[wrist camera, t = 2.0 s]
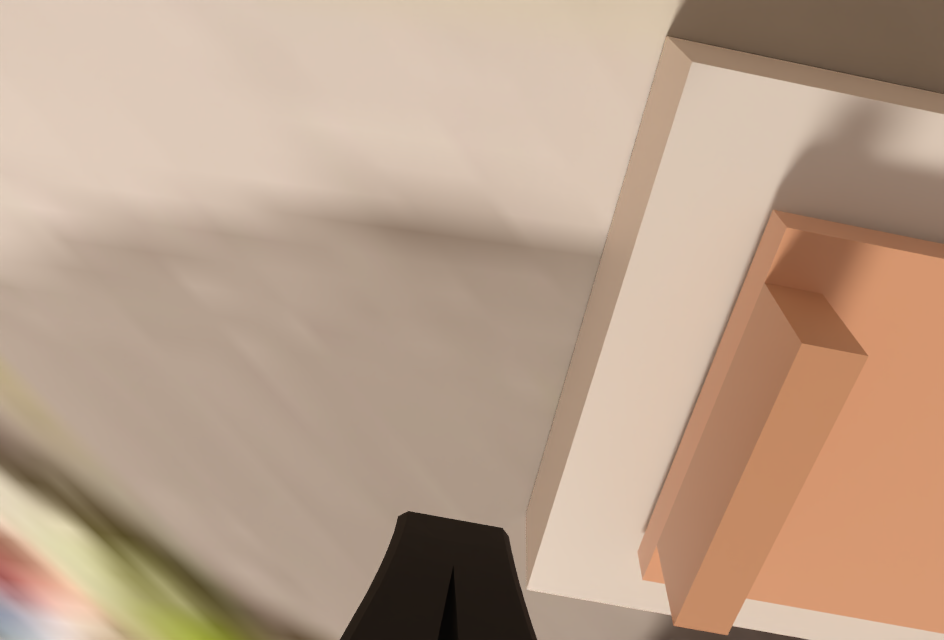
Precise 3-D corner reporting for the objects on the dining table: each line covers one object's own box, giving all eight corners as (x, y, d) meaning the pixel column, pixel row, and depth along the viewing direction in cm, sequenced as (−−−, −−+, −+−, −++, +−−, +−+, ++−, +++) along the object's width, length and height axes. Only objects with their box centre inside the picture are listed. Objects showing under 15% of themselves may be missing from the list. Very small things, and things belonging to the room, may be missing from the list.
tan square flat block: (1218, 299, 14) (1370, 388, 11) (989, 615, 18) (1066, 733, 15) (773, 209, 13) (829, 281, 11) (637, 551, 17) (656, 661, 15)
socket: (1270, 162, 15) (1395, 208, 13) (969, 594, 21) (1021, 677, 19) (666, 35, 15) (692, 62, 13) (525, 514, 21) (526, 589, 18)
